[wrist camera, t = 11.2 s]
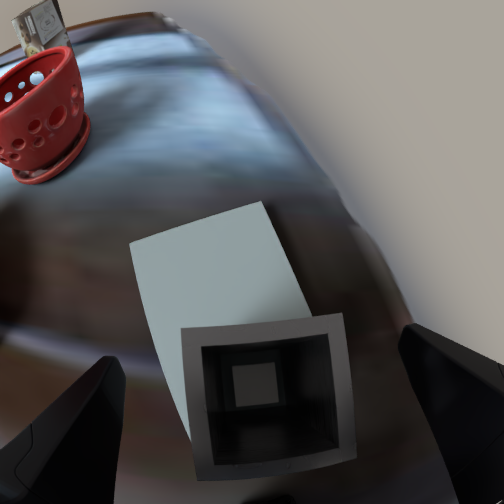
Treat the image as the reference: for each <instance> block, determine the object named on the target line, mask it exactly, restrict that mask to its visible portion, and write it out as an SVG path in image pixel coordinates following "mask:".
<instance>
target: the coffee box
mask: <svg viewBox="0 0 504 504" xmlns="http://www.w3.org/2000/svg"><path fill="white" fill-rule="evenodd" d="M12 23H13V25H14V28H15V31H16V33H17V36H18V38H19V41H20V43H21V45H22V48H23V50H24V52H25V55H26V57H27V58H29V57H31V56H33V55H35V54H37V53H39V52H41V51H44V50H47V49H50V48H53V47H58V46H68V47H70V48H71V49H72V46H71V43H70V40H69V37H68V34H67V31H66V28H65V25H64V22H63V18H62V15H61V12H60V8H59V4H58V1H57V0H43V1H41V2H39V3H37V4H35V5H33V6H31V7H30V8H28V9H27V10H25V11H24V12H22V13H21V14H20V15H19V16H17V17H16V18H14V19H13V20H12ZM72 50H73V49H72ZM73 53H74V52H73ZM53 71H54V69H53V70H52V72H53ZM37 73H41V72H38V71H36V72H34V74H37Z"/></svg>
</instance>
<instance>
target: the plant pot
mask: <svg viewBox="0 0 504 504" xmlns="http://www.w3.org/2000/svg"><path fill="white" fill-rule="evenodd" d="M53 69H54V71H53V72H52V70H53ZM36 71H38V72H41V73H42V74H43V76H44V80H43V81H42V82H41V83H40V84H38V85H33V84H32V83H31V82H30V76H31V74H32V73H34V72H36ZM21 82H25V86H24V88H22V89H19V88H18V85H19V83H21ZM8 92H11V93H12V99H11V100H10V101H9V102H6V101H5V99H4V98H5V95H6V94H7V93H8ZM27 92H28V93H27ZM25 93H27V94H26V95H25ZM24 95H25V96H24ZM13 103H14V104H13ZM90 126H91V125H90V119H89V117H88V115H87V114H86V113H85V112H84V94H83V87H82V81H81V76H80V72H79V68H78V65H77V61H76V58H75V56H74V53H73V50H72V49H71V48H70V47H68V46H58V47H53V48H50V49H47V50H44V51H41V52H39V53H37V54H35V55H33V56H31V57H29V58H27V59H26V60H24V61H22V62H21V63H19V64H18V65H16V66H15V67H13V68H12V69H11V70H9V71H8V72H7V73H6V74H4V75H3V76H2V77H1V78H0V162H1V163H2V164H4V165H6V166H8V167H10V168H12V173H13V176H14V178H15V179H16V180H17V181H19V182H20V183H23V184H28V185H30V184H38V183H41V182H44V181H46V180H49V179H51V178H52V177H54V176H56V175H57V174H58V173H60V172H61V171H62V170H64V169H65V168H66V167H67V166H68V165H69V164H70V163H71V162H72V161H73V160H74V159H75V158H76V157H77V156H78V154H79V153H80V152H81V150H82V148H83V147H84V145H85V143H86V141H87V139H88V136H89V132H90Z"/></svg>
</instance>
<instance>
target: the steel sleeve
mask: <svg viewBox="0 0 504 504" xmlns="http://www.w3.org/2000/svg"><path fill="white" fill-rule="evenodd" d="M181 344H182V359H183V372H184V383H185V394H186V403H187V412H188V421H189V429H190V436H191V444H192V450H193V457H194V463H195V470H196V475H197V481H219V480H239V479H251V478H261V477H270V476H277V475H284V474H290V473H296V472H301V471H306V470H311V469H316V468H321V467H325V466H329V465H333V464H337V463H341V462H344V461H348V460H351V459H355V458H357V447H356V429H355V415H354V403H353V392H352V382H351V373H350V364H349V356H348V349H347V341H346V334H345V327H344V321H343V315H342V313H336V314H329V315H322V316H315V317H307V318H299V319H290V320H281V321H271V322H261V323H250V324H238V325H225V326H209V327H191V328H181ZM275 349H280V357H281V366H282V375H283V385H284V394H285V404H286V405H283V406H276V407H268V408H259V409H249V410H237V411H226V408H225V399H224V389H223V379H222V369H221V358H220V354H234V353H246V352H257V351H266V350H275Z"/></svg>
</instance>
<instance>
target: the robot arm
mask: <svg viewBox="0 0 504 504" xmlns="http://www.w3.org/2000/svg"><path fill="white" fill-rule="evenodd" d="M398 351H399V354H400V356H401V359H402V361H403V364H404V367H405V369H406V372H407V375H408V378H409V380H410V383H411V385H412V388H413V390H414V392H415V394H416V396H417V399H418V401H419V403H420V405H421V407H422V409H423V412H424V414H425V416H426V418H427V421H428V423H429V425H430V427H431V430H432V432H433V434H434V437H435V439H436V442H437V444H438V446H439V449H440V451H441V454H442V456H443V459H444V462H445V464H446V467H447V469H448V472H449V475H450V478H451V481H452V484H453V487H454V489H455V492H456V495H457V498H458V502H459V504H496V503H498V502H499V501H501V500H502V501H501V502H500V503H499V504H504V365H502V364H500V363H497V362H496V361H494V360H491V359H489V358H487V357H485V356H483V355H481V354H479V353H477V352H475V351H473V350H471V349H469V348H467V347H464V346H463V345H460V344H458V343H456V342H454V341H452V340H450V339H448V338H445V337H444V336H442V335H440V334H438V333H435V332H433V331H431V330H429V329H427V328H425V327H423V326H421V325H419V324H416V323H413V324H409V325H406V326H405V327H404V328H403V331H402V334H401V337H400V340H399V343H398ZM125 388H126V376H125V373H124V371H123V369H122V367H121V365H120V362H119V360H118V358H117V357H115V356H103V357H102V358H101V359H99V360H98V361H97V362H96V363H95V364H94V365H93V366H92V367H91V368H90V369H88V370H87V371H86V372H85V373H84V374H83V375H82V376H81V377H80V378H79V379H77V380H76V381H75V382H74V383H73V384H72V385H71V386H70V387H69V388H68V389H67V390H65V391H64V392H63V393H62V394H61V395H60V396H59V397H58V398H57V399H56V400H55V401H54V402H53V403H51V404H50V405H49V406H48V407H47V408H46V409H45V410H44V411H43V412H42V413H41V414H40V415H39V416H38V417H37V418H35V419H34V420H33V421H32V424H31V423H30V424H29V425H28V426H27V427H26V428H25V429H24V430H23V431H22V432H21V433H19V434H18V435H17V436H16V437H15V438H14V439H13V440H12V441H10V442H9V443H8V444H7V445H5V446H4V447H3V448H2V449H0V504H114V491H115V481H116V471H117V463H118V455H119V448H120V441H121V435H122V428H123V419H124V402H125ZM285 500H290V501H289V502H284V501H285ZM257 504H296V503H295V501H294V499H293V498H292V496H289V495H286V496H283V497H280V498H277V499H274V500H271V501H268V502H261V503H257Z"/></svg>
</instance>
